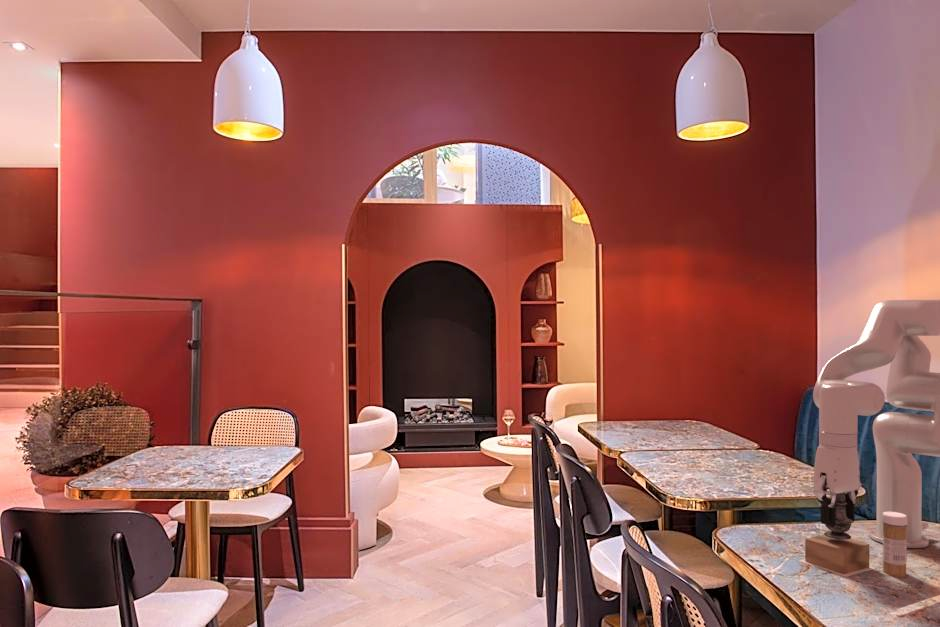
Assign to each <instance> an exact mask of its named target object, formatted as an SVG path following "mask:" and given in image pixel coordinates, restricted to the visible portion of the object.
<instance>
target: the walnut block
mask: <svg viewBox="0 0 940 627" xmlns="http://www.w3.org/2000/svg"><path fill="white" fill-rule="evenodd" d="M804 540H805V541H804V542H805V543H804V544H805V545H804V546H805V547H804V549H805V550H804V559H805V561H806V562H809V563H812V564H815V565H818V566H821V567H824V568H827V569H830V570H832V571H835V572H838V573H841V574H847V573H850V572H854V571H858V570H861V569H865V568H869V566H870V543H866V542H863V541H859V540H856V539H853V538H851V539H847V540H841V539H834V538H830V537H827V536H825V535H824V534H820V535H815V536H812V537H811V536H810V537H807V538H805V539H804Z"/></svg>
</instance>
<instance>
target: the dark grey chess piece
mask: <svg viewBox="0 0 940 627" xmlns="http://www.w3.org/2000/svg"><path fill="white" fill-rule="evenodd" d="M846 504H847V502H845V493H841V494H836V498H835V503H834V508H836V525H835V526H830V525H826V524H824V525H825V527H826V528H827V529H828V530H827V531H825V532H824V533H823V535H825V536H827V537H830V538H834V539H841V540H847V539H852V536H851V535H850V534H849V533H847V532H848V531H850V529H851V527H852V524H853V523H854V522H853V521H852V520H851V519H849V518H847V516H846Z"/></svg>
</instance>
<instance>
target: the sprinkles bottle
mask: <svg viewBox="0 0 940 627" xmlns="http://www.w3.org/2000/svg"><path fill="white" fill-rule="evenodd" d="M882 521H883V543H882V572H883V573H884V574H886V575H888V576H891V577H897V578H899V577H900V578H901V577H902V578H903V577H906V576H907V551H908V550H907V549H908V548H906V527H907V516H906V515H905V514H902V513H898V512H883V513H882Z"/></svg>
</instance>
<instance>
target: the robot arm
mask: <svg viewBox="0 0 940 627" xmlns="http://www.w3.org/2000/svg"><path fill="white" fill-rule="evenodd" d="M862 327H863V328H862V329H861V332H860V334H859V336H858V338H857V341H856V343H855V344H853V345H851V346H849V347H847V348H845V349H844V350H842V351H840V352H839V353H837V354H836V355H835V356H833V357H832V358H830V360H828V361H827V362H826V363H825V365H824V366H823V367H822V369H821V371H820V373H819V375H818V378H817V380H816V382H815V385H814V388H813V391H812V397H813V398H812V399H813V403H814V404H815V407H816V408H818V414H819V415H818V418H819V419H818V427H819V428H818V446H817V447H816V448H817V449H816V452H815V457H814V459H815V460H814V467H813V483H812V484H813V491H812V493H813V494H814V495H815V497H816V499H817V501H818V505H819V506H820V523H821V524H824V525H825V524H826V525H830V526H835V525H836V508H834V503H835V498H836V494H841V493H845V502H847V504H846V516H847V518H849V519H851V520H852V521H853V523H854V522H856V521H855V517H856V516H855V514H856V512H855V508H856V506H855V505H856V503H857V497H858V495H859V494H858V493H859V491H860V489H861V488H862V483H861V481H860V480H861V479H860V476H861V474H860V461H859V459H860V458H859V451H858V440H859V439H858V436H859V434H858V433H859V432H858V431H859V430H858V428H859V427H858V424H859V421H858V418H859V417H858V416H865V417H869V416H874V415H876V414H878V413H880V412H881V410H882V409H883V407H884V405H885V401H886V400H887V402H888V403H889V405H891V406H893V407H895V408H901V409H905V410H914V411H925V412H933V415H928V414H927V415H926V414H917V413H909V412H901V411H887V412H882V413H880V414H878V415H877V416H876V417H875V418H874V420H873V424H872V435H873V441H874V446H875V454H876V455H875V456H876V526H875V528H872V529H871V530H869V533H868V535H869V538H870V539H872V540H873V541H875V542H878V543H880V544H883V521H882V513H883V512H898V513H902V514H905V515H906V516H907V527H906V548H907V549H922V548H923V549H924V548H927V547H928V546H929V543H930V542H929V539H928V538H927V537H926V536H924V535H922V531H924V530H927V529H929V527H930V525H929V523H928V522H927V521H925V520H923V521H922V505H923V504H922V499H923V496H922V494H923V492H922V488H923V487H922V486H923V485H922V484H923V481H922V479H923V478H922V477H923V475H922V469H921V467H920V465H919V463H918V461H917V459H915V457H914V455H913V454H916V455H923V456H931V457H938V458H940V372H930V367H931V362H932V354H931V351H930V349H929V348H928V347H927V346H928V345H926V344H925V343H924V341H923V340H922V339H921V338H920V337H921V336H923V337H924V336H925V337H927V336H928V337H930V336H931V337H940V299H892V300H891V299H890V300H888V299H887V300H883V301H879V302H878V303H876V304H874V306H873V307H872V308H871V310H870V313H869V315H868V317H867V319H866V320H865V322H864V325H863V326H862ZM919 336H920V337H919ZM889 364H890V365H889ZM887 365H889V371H888V376H887V383H886V390H885V391H886V392H885V393H884V391H883V390H882V388H881V387H880V386H879V385H877V384H875V383H874V382H873V383H872V382H867V381H857V380H856V381H855V380H849V379H848V378H849V377H851V376H853V375H857V374H859V373H863V372H867V371H872V370H874V369H877V368H881V367H884V366H887ZM846 379H847V380H846ZM885 394H886V395H885ZM885 398H886V399H885ZM828 490H829V491H828ZM828 496H829V498H828ZM826 525H825V526H826Z"/></svg>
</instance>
